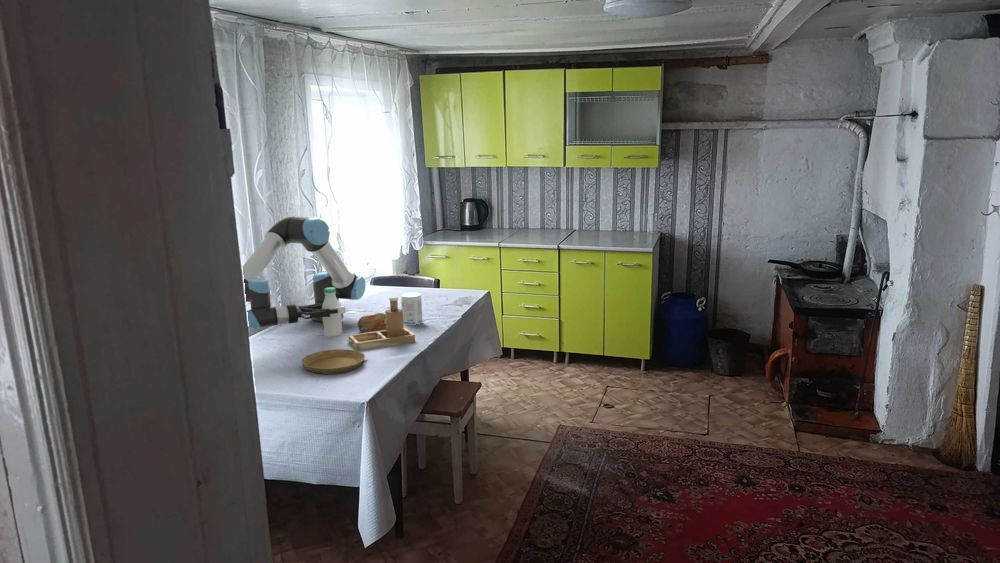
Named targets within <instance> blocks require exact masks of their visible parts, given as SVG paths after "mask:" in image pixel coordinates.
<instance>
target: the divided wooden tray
mask: <svg viewBox="0 0 1000 563" xmlns="http://www.w3.org/2000/svg"><path fill="white" fill-rule="evenodd" d="M415 342H416V334H415V333H413V332H412V331H410V330H409V329H408V328H406V326H404V336H399V337H392V338H387V336H386V329H383V330H382V329H381V330H374V331H369V332H364V333H362V332H360V333H356V334H355V333H354V334H348V343H349V344H350V345H351V346H352V347H353V348H354V349H355V351H363V350H370V349H376V348H377V349H378V348H382V347H388V346H389V347H390V346H397V345H402V344H408V343H409V344H410V343H415Z"/></svg>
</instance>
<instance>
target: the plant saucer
mask: <svg viewBox="0 0 1000 563" xmlns="http://www.w3.org/2000/svg"><path fill="white" fill-rule="evenodd" d="M365 358H366V356H365V354H364V353H363V352H361V351H360V350H356V349H355V350H354V349H346V348H345V349H343V348H341V349H339V348H337V349H326V350H321V351H316V352H313V353H310V354H307V355H306V356H304V357H303V358H302V360H301V364H302V366H303V367H304V368H306V369H307V370H309V371H311V372H313V373H315V374H322V375H323V374H324V375H330V374H331V375H334V374H340V373H346V372H350V371H352V370H355V369H356V368H358V367H359V366H361V364H363V363H364V360H365Z"/></svg>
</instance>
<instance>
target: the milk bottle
mask: <svg viewBox="0 0 1000 563" xmlns="http://www.w3.org/2000/svg"><path fill="white" fill-rule="evenodd" d="M324 292H325V293H324V294H325V299H324V302H323V304H322V309H329V308H335V307H340V304H339V302H340V301H339V302H338V300H337V298H336V296H335V293H336V289H335V288H334V287H328V288H325V289H324ZM321 322H322V332H323V335H324V336H325V337H336V336H340V335H342V333H343V326H342V318H341V314H333V315H330V317H322V321H321Z"/></svg>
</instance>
